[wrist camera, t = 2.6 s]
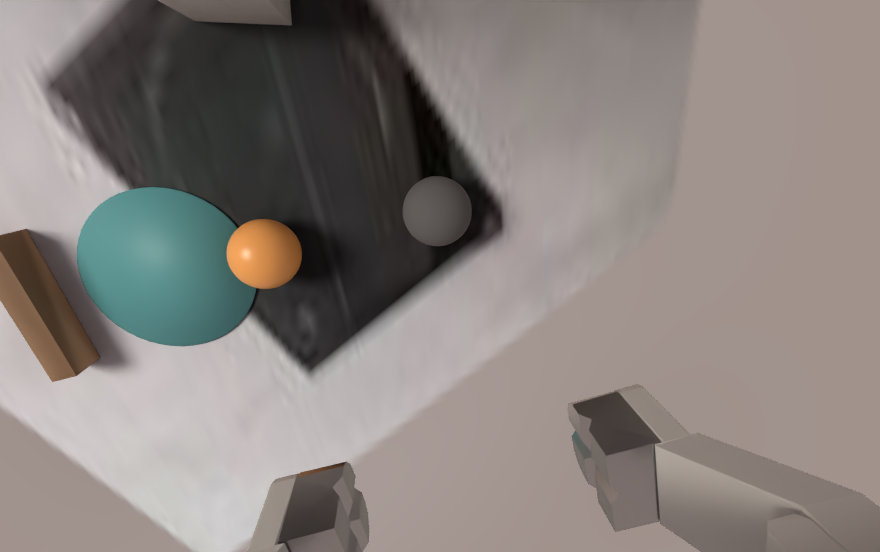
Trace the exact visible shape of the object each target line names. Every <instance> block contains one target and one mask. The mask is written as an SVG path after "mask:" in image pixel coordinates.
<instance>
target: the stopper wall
mask: <svg viewBox="0 0 880 552" xmlns="http://www.w3.org/2000/svg"><path fill="white" fill-rule="evenodd" d="M0 300H1V302H2V303H3V305H4V307H5V308H6V310H7V311H8V313H9V315H10V316H11V318H12V319H13V321H14V322H15V324H16V326H17V327H18V329H19V330H20V332H21V333H22V335H23V337H24V338H25V340H26V341H27V343H28V344H29V346H30V348H31V349H32V351H33V352H34V354H35V355H36V357H37V359H38V360H39V362H40V363H41V365H42V366H43V368H44V370H45V371H46V373H47V374H48V376H49V377H50V379H51V381H52V382H54V381H58V380H62V379H66V378H70V377H74V376H77V375H78V374H80V373H81V372H82V371H83V370H85V369H86V368H87V367H89V366H90V365H91V364H93V363H94V362H95V361H96V360H98V359H99V358H100V356H99V355H98V353H97V351H96V349H95V348H94V346H93V344H92V342H91V341H90V339H89V337H88V335H87V334H86V332H85V330H84V328H83V327H82V325H81V323H80V322H79V320H78V318H77V316H76V315H75V313H74V311H73V309H72V308H71V306H70V304H69V302H68V301H67V299H66V297H65V296H64V294H63V292H62V290H61V289H60V287H59V285H58V283H57V282H56V280H55V278H54V276H53V275H52V273H51V271H50V269H49V268H48V266H47V264H46V263H45V261H44V259H43V257H42V256H41V254H40V252H39V250H38V249H37V247H36V245H35V243H34V242H33V240H32V238H31V237H30V235H29V233H28V231H27V230H26V229H24V230H20V231H16V232H12V233H7V234H3V235H0Z"/></svg>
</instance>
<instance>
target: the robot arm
mask: <svg viewBox="0 0 880 552" xmlns="http://www.w3.org/2000/svg"><path fill="white" fill-rule="evenodd" d="M568 415H569V420H570V422H571V423H572V425H573V427H574V429H575V432H574V434H573V435H572V441H573V446H574V451H575V454H576V457H577V461H578V464H579V466H580V468H581V470H582V473H583V475H584V477H585V479H586V480H587V482H588V484H590V485H592V486H593V487H595V488H597V496H598V502H599V504H600V506H601V507H602V509H603V511H604V513H605V514H606V516H607V518H608V520H609V522H610V523H611V525H612V527H613V529H614V530H615V532H617V531H621V530H625V529H630V528H634V527H638V526H642V525H646V524H650V523H655V522H659V521H660V524H661V525H663V526H664V527H666V528H667V529H669V530H670V531H672V532H673V533H675V534H676V535H677V536H679V537H680V538H682V539H683V540H685V541H686V542H688V543H689V544H691V545H692V546H693V547H695V548H697V549H698V550H699V551H701V552H880V507H879V506H878V505H876V504H875V503H874V502H872V501H871V500H870V499H868V498H867V497H866V496H865V495H863V494H862V493H860V492H857V491H854V490H852V489H848V488H846V487H843V486H841V485H838V484H835V483H833V482H830V481H827V480H824V479H821V478H819V477H816V476H813V475H811V474H808V473H805V472H803V471H800V470H797V469H795V468H792V467H789V466H786V465H784V464H781V463H778V462H776V461H773V460H770V459H768V458H765V457H762V456H759V455H757V454H754V453H751V452H748V451H746V450H743V449H740V448H738V447H735V446H732V445H730V444H727V443H724V442H721V441H719V440H716V439H713V438H710V437H708V436H705V435H702V434H700V433H696V434H692V435H691V434H689V433H688V432H687V431H686V430H685V429H684V427H682V425H680V423H678V421H677V420H675V418H673V416H672V415H670V413H668V412H667V410H666V409H665V408H663V407H662V405H660V403H659V402H658V401H657V400H655V398H654V397H652V395H650V393H649V392H648V391H647V390H646V389H645V388H644V387H643V386H641V385H638V384H636V385H633V386H629V387H625V388H622V389H618V390H615V391H614V392H610V393H606V394H603V395H599V396H595V397H591V398H588V399H584V400H580V401H577V402H573V403H570V404H568ZM354 484H355V474H354V471H353V469H352V467H351V464H350V463H348V462H343V463H339V464H335V465H331V466H327V467H322V468H318V469H314V470H310V471H305V472H301V473H300V474H295V475H290V476H286V477H282V478H278V479H276V480H275V481H274V482H273V483H272V484H271V486H270V488H269V491H268V494H267V497H266V500H265V503H264V505H263V508H262V511H261V514H260V517H259V520H258V522H257V525H256V528H255V531H254V534H253V537H252V539H251V542H250V545H249V548H248V551H247V552H363V550H364V549H365V547H366V546H367V544H368V542H369V521H368V512H367V508H366V504H365V500H364V497H363V495H362V492H360V491H358V490H357V489H355V488H354Z"/></svg>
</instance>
